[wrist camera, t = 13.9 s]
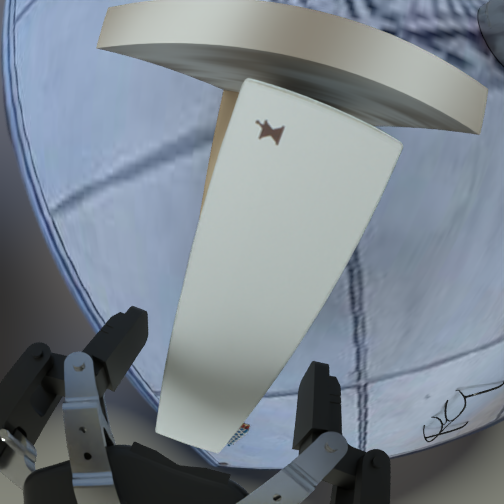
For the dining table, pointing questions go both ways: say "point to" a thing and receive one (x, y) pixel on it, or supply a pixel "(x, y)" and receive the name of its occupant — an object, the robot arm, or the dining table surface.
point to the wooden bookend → (297, 61)
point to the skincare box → (266, 253)
